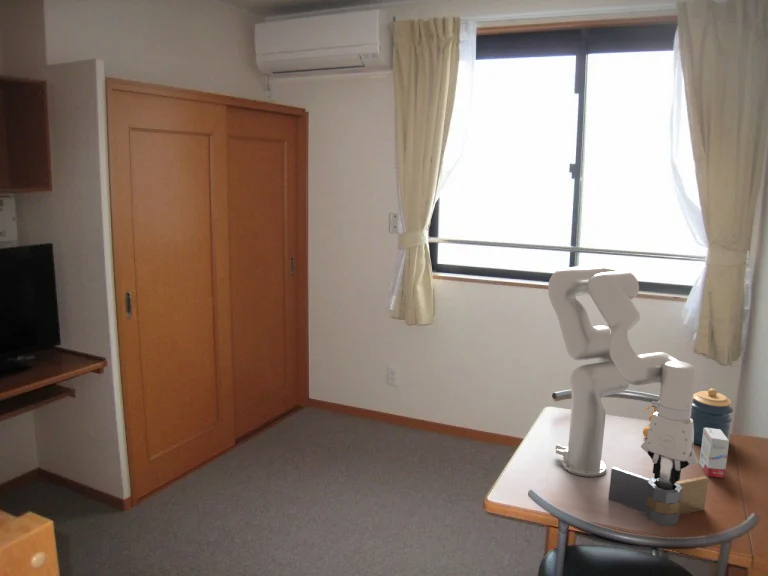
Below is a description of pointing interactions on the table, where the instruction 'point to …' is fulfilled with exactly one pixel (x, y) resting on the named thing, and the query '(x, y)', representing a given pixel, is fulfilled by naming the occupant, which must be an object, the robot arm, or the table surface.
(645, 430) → the figurine
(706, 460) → the ink box
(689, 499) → the bronze hinge leaf
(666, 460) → the hinge pin
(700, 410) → the canister
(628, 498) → the fixed hinge leaf
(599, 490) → the table surface
